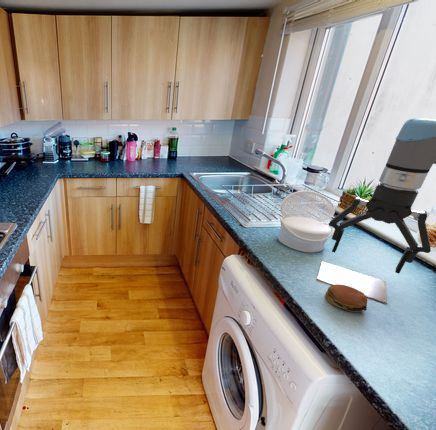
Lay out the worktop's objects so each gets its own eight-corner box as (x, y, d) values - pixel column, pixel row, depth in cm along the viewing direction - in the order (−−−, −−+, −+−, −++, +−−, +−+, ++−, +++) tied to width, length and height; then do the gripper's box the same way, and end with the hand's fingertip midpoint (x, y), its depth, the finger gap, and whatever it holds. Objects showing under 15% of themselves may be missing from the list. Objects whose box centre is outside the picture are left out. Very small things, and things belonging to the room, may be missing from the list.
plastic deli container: (277, 249, 114) (291, 202, 106) (269, 227, 131) (281, 186, 123) (335, 258, 108) (354, 210, 100) (319, 235, 126) (334, 192, 117)
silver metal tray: (384, 281, 96) (385, 280, 96) (386, 304, 86) (387, 303, 86) (321, 262, 106) (321, 261, 106) (316, 279, 96) (316, 278, 96)
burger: (318, 292, 90) (322, 280, 88) (347, 292, 90) (352, 280, 88) (340, 315, 81) (346, 302, 80) (372, 315, 82) (379, 303, 80)
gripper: (333, 177, 74) (308, 247, 83) (478, 204, 59) (428, 287, 67) (338, 172, 79) (314, 238, 88) (474, 196, 63) (428, 274, 72)
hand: (364, 260), depth 78 cm, fingers open, 13 cm apart
